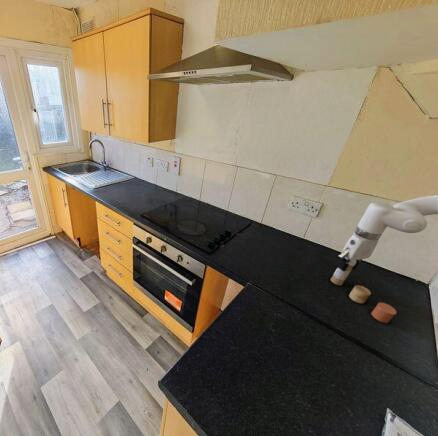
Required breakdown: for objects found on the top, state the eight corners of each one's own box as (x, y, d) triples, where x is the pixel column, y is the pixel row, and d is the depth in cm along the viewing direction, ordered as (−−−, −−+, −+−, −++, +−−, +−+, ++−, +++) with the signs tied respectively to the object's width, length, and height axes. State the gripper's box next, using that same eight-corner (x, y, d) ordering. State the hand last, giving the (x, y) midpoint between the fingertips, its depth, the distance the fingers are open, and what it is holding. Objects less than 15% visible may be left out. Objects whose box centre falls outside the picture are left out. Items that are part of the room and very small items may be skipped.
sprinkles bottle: (335, 277, 105) (349, 254, 98) (345, 284, 101) (359, 261, 94) (327, 279, 104) (340, 256, 97) (336, 286, 100) (351, 263, 93)
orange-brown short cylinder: (377, 310, 89) (384, 301, 87) (392, 321, 85) (400, 312, 82) (367, 312, 88) (374, 303, 86) (382, 324, 84) (389, 315, 81)
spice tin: (355, 292, 97) (361, 284, 94) (367, 302, 93) (374, 293, 90) (345, 294, 96) (351, 286, 93) (357, 304, 92) (364, 295, 89)
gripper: (359, 240, 84) (337, 277, 93) (394, 236, 87) (370, 271, 96) (340, 230, 90) (322, 265, 99) (373, 226, 93) (352, 260, 102)
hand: (346, 268), depth 97 cm, fingers closed on sprinkles bottle, 4 cm apart
